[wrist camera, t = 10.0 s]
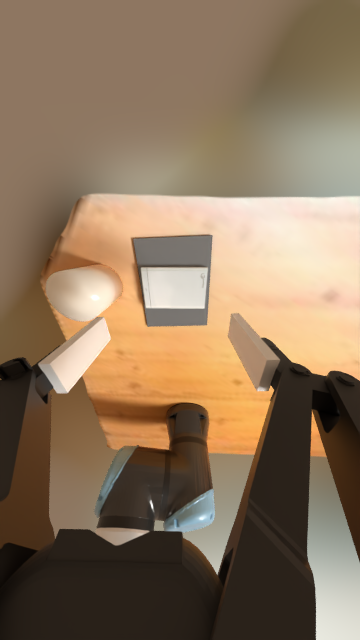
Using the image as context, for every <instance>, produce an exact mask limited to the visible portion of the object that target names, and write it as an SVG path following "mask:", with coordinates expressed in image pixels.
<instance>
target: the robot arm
mask: <svg viewBox="0 0 360 640" xmlns="http://www.w3.org/2000/svg"><path fill="white" fill-rule="evenodd" d="M228 337H229V339H230V341H231V343H232V345H233V347H234V349H235V351H236V353H237V354H238V356H239V358H240V360H241V362H242V364H243V366H244V368H245V370H246V371H247V373H248V375H249V377H250V379H251V381H252V383H253V385H254V387H255V389H256V390H257V391H269V388H270V385H271V386H272V387H273V389H274V392H273V395H272V397H271V400H270V401H271V402H270V405H269V409H268V412H267V415H266V419H265V422H264V425H263V429H262V432H261V435H260V439H259V442H258V445H257V449H256V452H255V455H254V459H253V462H252V466H251V469H250V472H249V476H248V479H247V483H246V486H245V489H244V492H243V496H242V499H241V502H240V506H239V509H238V512H237V516H236V519H235V522H234V525H233V528H232V530H231V533H230V536H229V539H228V542H227V546H226V549H225V553H224V555H223V559H222V562H221V565H220V569H219V572H218V575H217V574H216V572H215V570H214V569H213V567H212V565H211V564H210V562H209V561H208V560H207V558H206V557H205V556H204V554H203V553H202V552H201V551H200V550H199V549H198V548H197V547H196V546H195V545H193V544H192V543H191V542H190V541H188V540H186V539H184V538H183V535H182V533H183V532H187V531H192V530H197V529H200V528H203V527H206V526H208V525H210V524H211V523H212V522H213V519H214V516H215V507H214V496H213V493H214V490H213V486H212V479H211V471H210V463H209V455H208V448H207V435H208V428H209V416H208V412H207V410H206V409H205V408H203V407H201V406H199V405H196V404H191V403H184V404H178V405H175V406H173V407H172V408H170V409H169V410H168V412H167V416H166V424H167V429H168V435H169V440H170V445H169V450H165V449H157V448H148V447H140V446H139V445H137V446H123V447H122V448H121V449H120V450H119V451H118V452H117V454H116V456H115V458H114V459H113V461H112V464H111V466H110V468H109V470H108V473H107V475H106V477H105V480H104V482H103V485H102V488H101V490H100V494H99V497H98V500H97V502H96V506H95V511H94V512H95V515H96V516H97V518H99V517H100V518H99V522H98V525H97V529H96V534H95V533H94V532H92V531H91V530H83V529H82V530H81V529H60V530H59V532H58V534H57V537H56V539H55V536H54V531H53V527H52V525H51V522H50V518H49V481H50V479H49V478H50V434H51V394H50V392H49V391H50V390H51V389H52V388H54V389H55V391H56V392H57V393H68V392H69V391H70V389H71V388H72V387H73V386H74V385H75V383H76V382H77V381H78V380H79V378H80V377H81V376H82V375H83V373H84V372H85V371H86V370H87V368H88V367H89V366H90V365H91V363H92V362H93V361H94V360H95V358H96V357H97V356H98V355H99V353H100V352H101V351H102V350H103V348H104V347H105V346H106V345H107V343H108V342H109V341H110V340H111V338H110V334H109V331H108V328H107V325H106V322H105V318H104V317H96V318H95V319H94V320H93V321H91V322H90V323H89V324H88V325H86V326H85V327H84V328H83V329H81V330H80V331H79V332H77V333H76V334H75V335H74V336H72V337H71V338H70V339H69V340H67V341H66V342H65V343H64V344H62V345H60V346H58V347H57V348H56V349H54V350H53V351H52V352H51V353H49V354H48V355H47V356H45V357H44V358H43V359H41V360H40V361H39V362H38V363H37V364H35V365H34V366H33V367H31V365H30V364H29V362H28V361H27V360H26V358H23V357H22V358H16V359H13V360H10V361H7V362H5V363H3V364H1V365H0V378H1V379H2V380H0V640H316V599H315V584H314V578H313V573H312V570H311V568H310V565H309V562H308V557H307V531H308V503H309V473H310V447H311V419H312V411H313V414H314V417H315V420H316V424H317V427H318V430H319V433H320V436H321V440H322V443H323V446H324V449H325V452H326V456H327V459H328V462H329V465H330V468H331V472H332V474H333V478H334V481H335V484H336V487H337V491H338V494H339V497H340V500H341V504H342V507H343V510H344V513H345V516H346V519H347V522H348V526H349V529H350V532H351V535H352V538H353V542H354V545H355V548H356V551H357V555H358V558H359V561H360V381H359V380H357V379H356V378H354V377H353V376H351V375H349V374H346V373H343V372H340V371H330V372H329V373H328V375H327V376H322V375H317V374H313V373H311V372H310V371H309V370H308V369H307V368H305V367H304V366H302V365H300V364H296V363H292V362H291V361H290V360H289V359H288V358H287V357H286V356H285V355H284V354H283V353H282V352H281V351H280V350H279V349H278V348H277V347H276V345H275V344H274V343H273V342H272V341H270V340H268V339H267V338H260V337H259V335H258V334H257V333H256V332H255V331H254V330H253V329H252V328H251V326H250V325H249V324H248V323H247V322H246V321H245V320H244V319H243V317H242V316H241V315H240V314H239V313H235V314H231V319H230V326H229V333H228ZM155 520H161V521H164V523H163V526H164V531H154V522H155Z"/></svg>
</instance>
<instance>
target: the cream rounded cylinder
mask: <svg viewBox="0 0 360 640" xmlns="http://www.w3.org/2000/svg"><path fill="white" fill-rule="evenodd" d="M122 292H123V284H122V281H121V279H120V277H119V275H118V274H117V273H116V272H115V271H114V270H113V269H112V268H110V267H108V266H106V265H102V264H96V265H90V266H85V267H79V268H74V269H68V270H63V271H58V272H55V273H53V274H52V275H50V277H49V278H48V279H47V282H46V294H47V297H48V299H49V301H50V303H51V304H52V305H53V307H54V308H55V309H56V310H57V311H58V312H59V313H61V314H62V315H64V316H65V317H67V318H69V319H72V320H75V321H89V320H92V319H94V318H95V317H96V316H98V315H99V314H100V313H101V312H103V311H104V310H105V309H106V308H108V307H109V306H110V305H112V304H113V303H114V302H115V301H117V300H118V299H119V298H120V297H121V295H122Z"/></svg>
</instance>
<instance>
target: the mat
mask: <svg viewBox="0 0 360 640" xmlns="http://www.w3.org/2000/svg"><path fill="white" fill-rule="evenodd" d="M133 241H134V247H135V253H136V259H137V265H138V271H139V277H140V283H141V289H142V296H143V302H144V308H145V314H146V320H147V326H148V327H150V326H193V325H207V316H208V300H209V283H210V267H211V250H212V235H209V236H186V237H163V238H140V239H133ZM141 267H208V273H207V285H206V297H205V308H204V309H168V308H146V306H145V298H144V291H143V283H142V275H141Z"/></svg>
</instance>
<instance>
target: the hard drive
mask: <svg viewBox="0 0 360 640" xmlns="http://www.w3.org/2000/svg"><path fill="white" fill-rule="evenodd" d="M207 273H208V267H141V275H142V283H143V291H144V298H145V306H146V308H168V309H204V308H205V297H206V285H207Z"/></svg>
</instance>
